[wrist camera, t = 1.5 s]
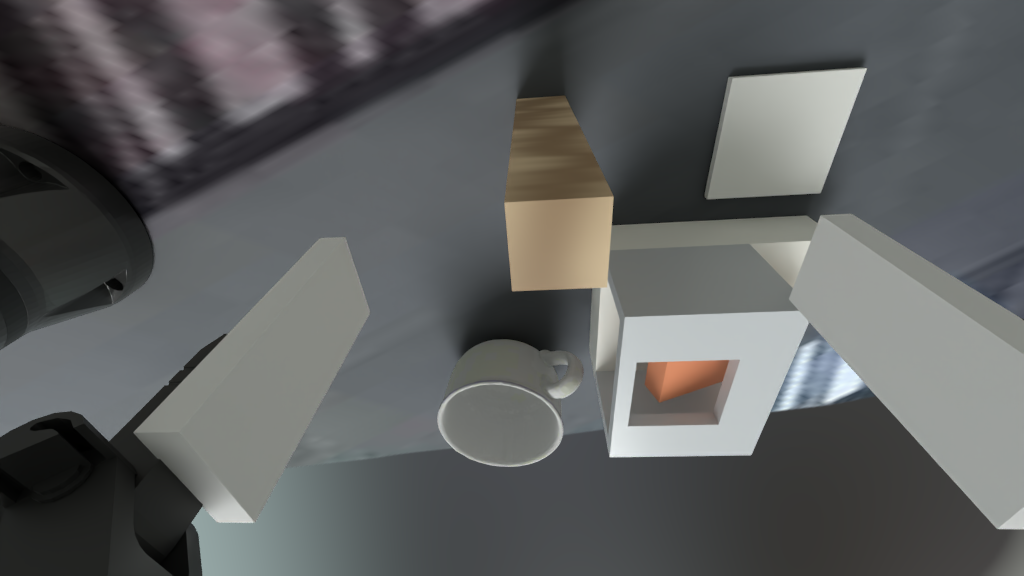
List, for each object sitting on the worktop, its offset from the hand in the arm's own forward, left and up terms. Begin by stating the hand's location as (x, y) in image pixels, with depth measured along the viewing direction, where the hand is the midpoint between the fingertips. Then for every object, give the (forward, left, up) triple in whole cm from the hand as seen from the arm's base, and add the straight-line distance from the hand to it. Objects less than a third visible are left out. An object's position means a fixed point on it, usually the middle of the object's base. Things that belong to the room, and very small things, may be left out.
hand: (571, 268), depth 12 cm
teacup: (-3, -22, -19) cm, 29 cm away
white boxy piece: (+12, -14, -19) cm, 27 cm away
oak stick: (0, 0, -19) cm, 19 cm away
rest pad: (+16, -2, -19) cm, 25 cm away
